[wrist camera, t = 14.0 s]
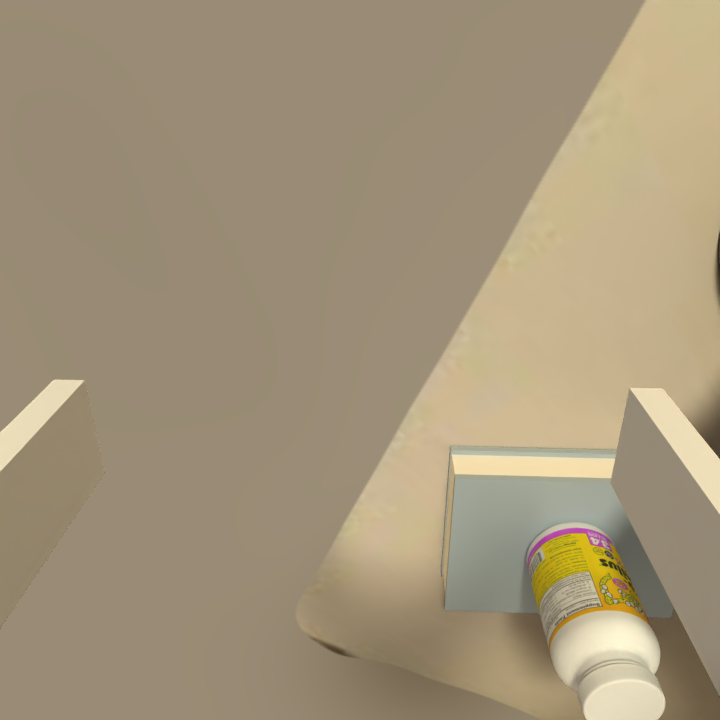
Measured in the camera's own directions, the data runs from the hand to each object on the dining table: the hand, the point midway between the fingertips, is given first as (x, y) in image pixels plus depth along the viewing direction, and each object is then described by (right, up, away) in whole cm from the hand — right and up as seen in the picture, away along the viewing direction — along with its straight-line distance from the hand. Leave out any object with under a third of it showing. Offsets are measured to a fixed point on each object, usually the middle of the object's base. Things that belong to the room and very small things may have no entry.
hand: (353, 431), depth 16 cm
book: (+16, -11, +37) cm, 41 cm away
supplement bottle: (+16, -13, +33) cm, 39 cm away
